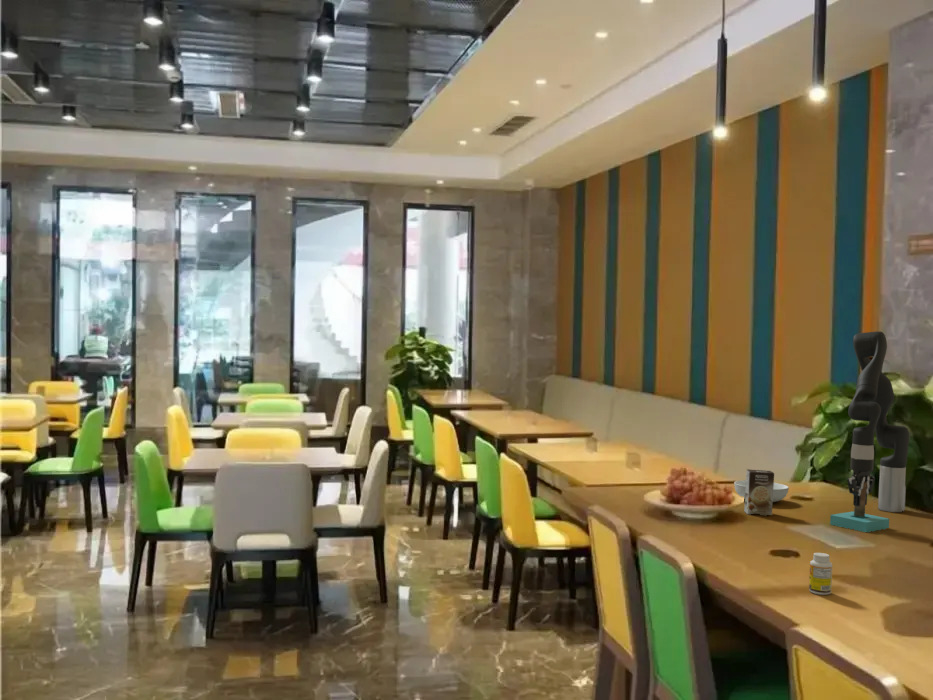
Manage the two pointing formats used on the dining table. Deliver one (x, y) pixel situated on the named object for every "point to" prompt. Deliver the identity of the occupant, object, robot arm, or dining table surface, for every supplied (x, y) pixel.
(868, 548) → the dining table surface
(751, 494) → the coffee box
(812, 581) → the supplement bottle
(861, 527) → the hole block
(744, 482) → the serving bowl
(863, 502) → the peg
